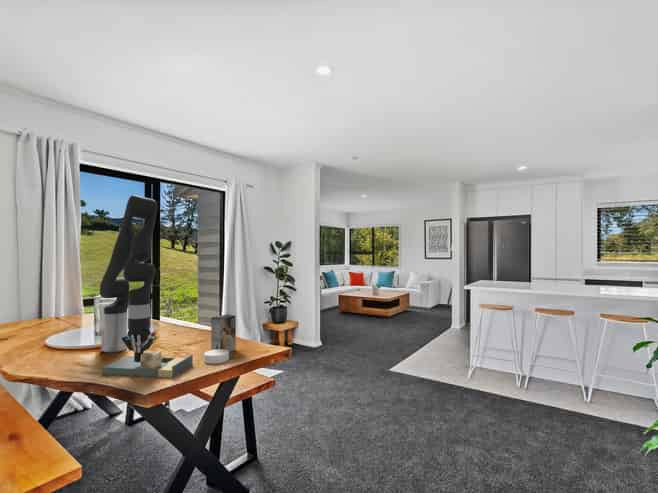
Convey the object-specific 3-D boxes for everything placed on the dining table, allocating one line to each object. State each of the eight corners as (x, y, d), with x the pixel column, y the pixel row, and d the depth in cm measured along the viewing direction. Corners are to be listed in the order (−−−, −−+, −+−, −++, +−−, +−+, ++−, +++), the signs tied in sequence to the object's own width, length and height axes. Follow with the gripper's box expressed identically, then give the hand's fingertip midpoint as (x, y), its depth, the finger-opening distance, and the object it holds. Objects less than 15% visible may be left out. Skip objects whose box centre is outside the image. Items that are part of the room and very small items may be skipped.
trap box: (102, 374, 129) (102, 363, 129) (127, 361, 143) (127, 352, 143) (173, 377, 126) (173, 366, 126) (192, 364, 140) (192, 354, 140)
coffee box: (226, 347, 164) (226, 313, 164) (236, 350, 161) (236, 315, 161) (210, 352, 157) (210, 317, 157) (220, 355, 153) (220, 318, 153)
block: (140, 368, 128) (140, 354, 129) (149, 363, 133) (149, 350, 133) (153, 369, 128) (153, 355, 128) (161, 364, 133) (161, 351, 133)
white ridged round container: (219, 355, 154) (219, 347, 154) (233, 359, 148) (233, 351, 148) (199, 361, 145) (199, 352, 145) (213, 366, 140) (213, 357, 140)
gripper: (161, 314, 134) (161, 359, 134) (129, 313, 136) (129, 357, 136) (149, 318, 127) (148, 366, 127) (116, 317, 128) (115, 364, 128)
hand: (138, 361), depth 131 cm, fingers closed
